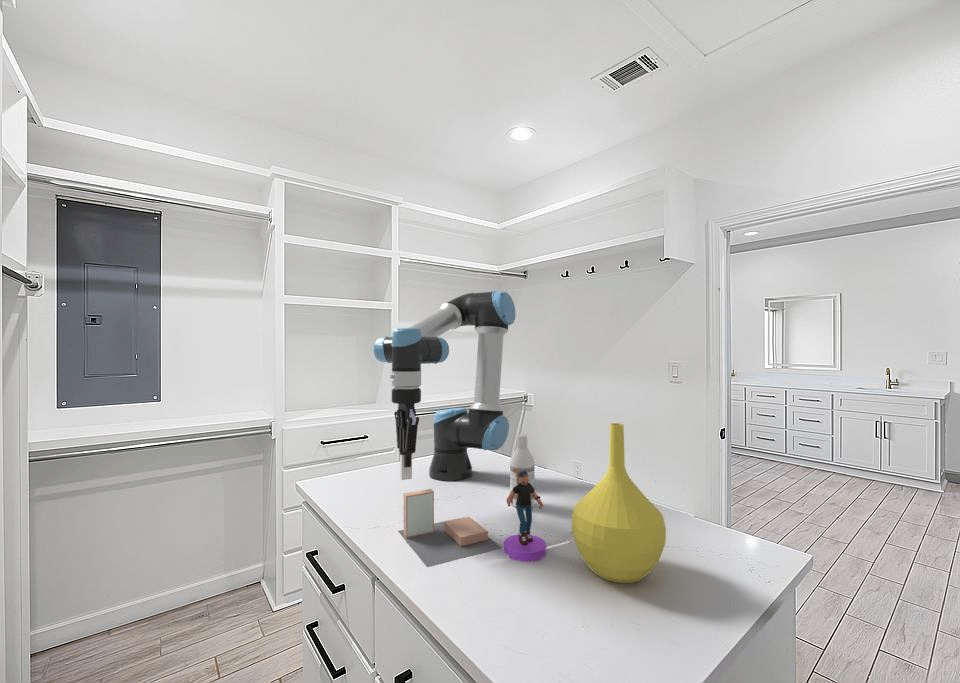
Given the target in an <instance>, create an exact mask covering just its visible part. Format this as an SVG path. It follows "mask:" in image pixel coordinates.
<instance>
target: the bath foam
mask: <svg viewBox="0 0 960 683" xmlns="http://www.w3.org/2000/svg"><path fill="white" fill-rule="evenodd" d="M509 463H510V464H509V465H510V466H509V478H510V479H509V483H510V484H509V485H510V486H509V493H510V492H511V491H512V490H513V488H514V487H515V486H516V485H518V484H519V483H521V481H520V480H519V477H518V476H517V475H519V473H520V472H521V471H526V472H527V473H528V476H529V477H528V483H531V485H532V486H533V488H534V489H536V488H535V487H536V486H535V485H536V483H535V482H536V480H535V479H536V478H535V477H536V476H535V471H536V470H535V466H536V464H535V460H534V456H533V455H532V453H531V452H530V450H529V448H528V435H527V434H522V433H521V434H517V435H516V449H515V451H514V452H513V453H512V456H511V457H510V462H509ZM517 498H518V493H517V494H515V495H514V497H513V505H512V504H511V503H510V507H513V508H515V509H517V508H516V501H517ZM535 501H536V500H535V498H534V497H533V495H532V494H531V503H532V504H531V507H532V508H533V507H534V506H535V504H536V503H535ZM523 510H525V508H523Z"/></svg>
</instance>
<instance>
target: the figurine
mask: <svg viewBox="0 0 960 683" xmlns="http://www.w3.org/2000/svg"><path fill="white" fill-rule="evenodd" d="M517 476H518V477H519V480H520V481H521V483H519V484H518V485H516V486H515V487H514V488H513V490H512V491H511V492H510V491H509V495H508V496H507V498H506V504H507V507H511V504H512V505H513V497H514V495H515V494H517V493H518V498H517V501H516V508H515V509H516V512H517V515H518V520H519V528H518V529H519V532H518V534H514V535H513V534H512V535H510V536H508V537H506V538H505V539H504V541H503V552H504V554H506V555H507V556H508V557H507V558H509V559H511V560H514V561H517V562H525V563H527V562H535V561H539V560H542V559H543V558H544V557H545V556H546V554H547V542H546V541H545V540H544V539H543V538H542V537H539V536H538V535H532V534H531V527H532V523H533V516H532V515H533V511H532V508H533V507H531V504H532V503H531V494H532V495H533V497H534V498H535V501H536V503H537V504H538V505H539V506H538V509H540V510H543V507H544V503H543V501H542V500H541V496H539V495H538V494H537V492H536V490H535V489H536V488H535V489H534V488H533V486H532V485H531V483H528V477H529V476H528V473H527V472H526V471H521V472H520V473H519V475H517ZM523 508H525V509H523ZM524 510H525V511H524Z"/></svg>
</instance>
